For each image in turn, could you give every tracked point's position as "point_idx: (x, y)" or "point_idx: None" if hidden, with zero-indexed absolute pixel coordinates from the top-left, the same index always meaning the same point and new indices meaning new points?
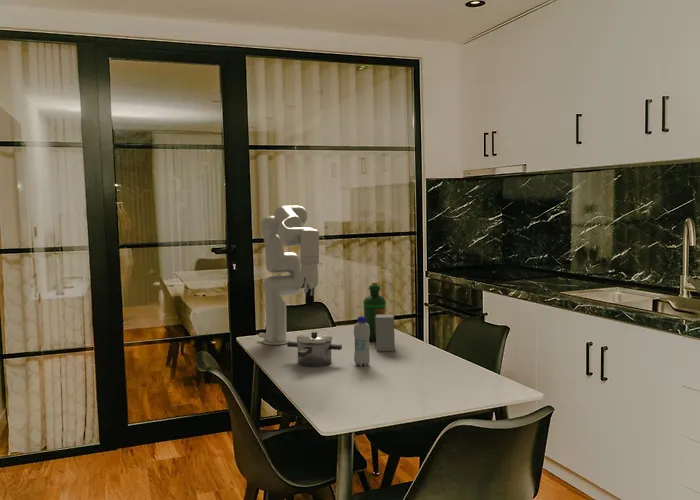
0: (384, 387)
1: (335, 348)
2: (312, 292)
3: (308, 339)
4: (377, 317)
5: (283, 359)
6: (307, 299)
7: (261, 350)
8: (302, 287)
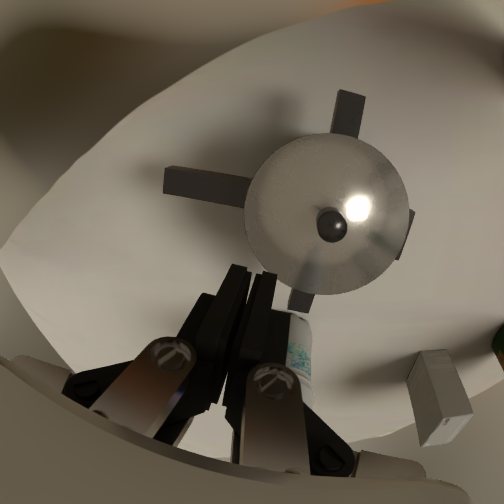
0: (132, 348)
1: (292, 288)
2: (234, 438)
3: (283, 196)
4: (442, 422)
5: (354, 83)
6: (187, 324)
7: (451, 22)
8: (60, 407)
